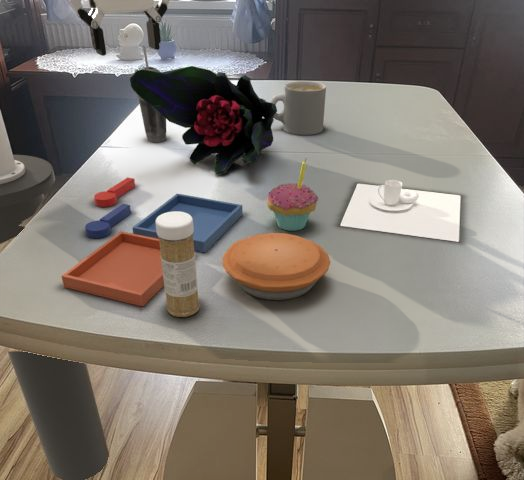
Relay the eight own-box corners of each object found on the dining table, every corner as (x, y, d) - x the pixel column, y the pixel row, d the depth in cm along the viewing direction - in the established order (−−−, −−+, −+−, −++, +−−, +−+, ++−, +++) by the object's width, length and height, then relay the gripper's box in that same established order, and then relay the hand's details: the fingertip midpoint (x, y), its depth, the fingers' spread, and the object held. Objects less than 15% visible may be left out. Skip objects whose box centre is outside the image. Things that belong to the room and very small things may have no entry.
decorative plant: (270, 195, 128) (205, 209, 103) (187, 132, 132) (104, 131, 106) (317, 112, 118) (258, 106, 92) (225, 47, 121) (144, 23, 96)
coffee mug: (322, 123, 141) (325, 81, 135) (323, 135, 134) (326, 91, 127) (271, 121, 142) (271, 80, 136) (268, 134, 134) (268, 90, 128)
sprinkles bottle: (194, 297, 77) (187, 207, 69) (204, 314, 74) (197, 222, 66) (162, 303, 76) (151, 213, 68) (170, 321, 73) (159, 228, 64)
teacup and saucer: (418, 199, 104) (422, 178, 102) (414, 216, 98) (419, 194, 96) (372, 193, 106) (374, 172, 104) (366, 210, 100) (368, 188, 98)
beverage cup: (177, 136, 133) (169, 42, 120) (164, 145, 127) (154, 49, 115) (149, 133, 134) (139, 40, 122) (135, 142, 129) (123, 46, 116)
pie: (320, 253, 87) (323, 224, 84) (335, 308, 75) (338, 277, 72) (224, 255, 87) (222, 226, 84) (222, 310, 75) (221, 279, 72)
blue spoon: (118, 210, 99) (116, 202, 98) (137, 214, 98) (135, 205, 97) (81, 236, 92) (79, 227, 91) (101, 240, 90) (100, 231, 89)
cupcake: (320, 218, 97) (325, 150, 90) (308, 239, 91) (313, 168, 84) (274, 212, 100) (275, 145, 92) (259, 232, 93) (260, 162, 86)
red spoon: (123, 184, 109) (122, 176, 108) (140, 187, 108) (139, 179, 107) (90, 204, 101) (89, 196, 100) (109, 208, 100) (107, 200, 99)
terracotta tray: (64, 287, 79) (61, 275, 78) (122, 241, 90) (120, 231, 89) (142, 306, 75) (141, 295, 74) (194, 256, 86) (193, 245, 85)
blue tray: (133, 238, 91) (132, 227, 90) (177, 203, 102) (177, 193, 101) (204, 252, 87) (204, 242, 86) (242, 214, 98) (242, 204, 97)
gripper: (154, -75, 90) (165, 43, 101) (48, -75, 82) (72, 52, 93) (174, -74, 85) (183, 49, 96) (63, -74, 78) (86, 60, 88)
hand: (128, 51), depth 94 cm, fingers open, 9 cm apart
